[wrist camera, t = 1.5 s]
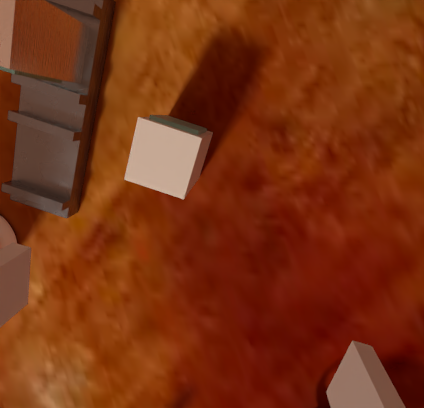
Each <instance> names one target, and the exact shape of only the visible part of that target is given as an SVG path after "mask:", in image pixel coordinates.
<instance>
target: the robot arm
mask: <svg viewBox="0 0 424 408" xmlns="http://www.w3.org/2000/svg"><path fill="white" fill-rule="evenodd" d="M30 257H31V247H27V246H24V245H20V244H17V243H11V244H9V245H7V246H6V247H4V248H2V249H0V327H1V326H2V325H4V324H5V323H6V322H7V321H8V320H9V319H11V318H12V317H13V316H14V315H15V314H16V313H18V312H19V311H20V310H21V309H22V308H23V307H24V306H26V305H27V304H28V290H29V274H30ZM326 393H327V397H328V400H329V404H330V407H331V408H406V407H405V406H404V404H403V402H402V400H401V398H400V396H399V395H398V393H397V391H396V389H395V387H394V386H393V384H392V382H391V380H390V378H389V376H388V375H387V373H386V371H385V369H384V367H383V366H382V364H381V362H380V360H379V358H378V356H377V355H376V353H375V351H374V349H373V347H372V346H370V345H366V344H363V343H359V342H356V341H352V342H351V344H350V346H349V348H348V350H347V352H346V354H345V356H344V358H343V360H342V362H341V364H340V366H339V368H338V370H337V372H336V373H335V375H334V377H333V379H332V381H331V383H330V385H329V387H328V389H327V391H326Z"/></svg>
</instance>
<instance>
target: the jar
mask: <svg viewBox="0 0 424 408" xmlns="http://www.w3.org/2000/svg"><path fill="white" fill-rule="evenodd" d="M11 243H17V240H16V236H15V234H14V231H13V229H12V228H11V226H10V225H9V223H8V222H7V221H6V220H5V219H4V218H3V217H2V216H1V215H0V249H2V248H4V247H6V246H7V245H9V244H11Z"/></svg>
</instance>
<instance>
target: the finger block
mask: <svg viewBox="0 0 424 408" xmlns="http://www.w3.org/2000/svg"><path fill="white" fill-rule="evenodd" d="M212 135H213V132H210V131H207V128H204V127H201V126H198V125H195V124H192V123H189V122H186V121H183V120H180V119H177V118H174V117H171V116H168V115H150V117H138V120H137V125H136V129H135V134H134V138H133V143H132V147H131V151H130V156H129V160H128V165H127V169H126V174H125V178H124V180H127V181H130V182H133V183H136V184H139V185H142V186H145V187H148V188H151V189H154V190H157V191H160V192H163V193H166V194H169V195H172V196H175V197H178V198H181V199H184V198H185V197H186V195H187V194H188V193H189V191H190V190H191V188H192V187H193V186H194V184H195V183H196V181H197V180H198V179H199V177H200V174H201V170H202V167H203V164H204V161H205V157H206V154H207V151H208V148H209V144H210V141H211V138H212Z"/></svg>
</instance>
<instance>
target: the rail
mask: <svg viewBox="0 0 424 408" xmlns="http://www.w3.org/2000/svg"><path fill="white" fill-rule="evenodd" d="M114 7H115V1H114V0H0V70H3V71H6V72H9V73H12V76H11V82H13V83H16V84H19V85H21V93H20V103H19V111H9V110H8V120H10V121H13V122H16V123H17V133H16V144H15V154H14V164H13V174H12V181H9V182H5V183H2V190H1V191H2V192H5V193H8V194H10V199H11V200H14V201H17V202H20V203H23V204H26V205H28V206H31V207H34V208H37V209H40V210H43V211H46V212H49V213H52V214H55V215H58V216H61V217H64V218H68V217H70V216H72V215H74V214H75V213H77V212H78V208H79V203H80V197H81V192H82V186H83V181H84V175H85V169H86V164H87V158H88V153H89V147H90V141H91V136H92V130H93V125H94V119H95V113H96V108H97V102H98V97H99V91H100V86H101V80H102V74H103V69H104V63H105V58H106V52H107V46H108V41H109V35H110V30H111V24H112V19H113V13H114Z"/></svg>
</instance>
